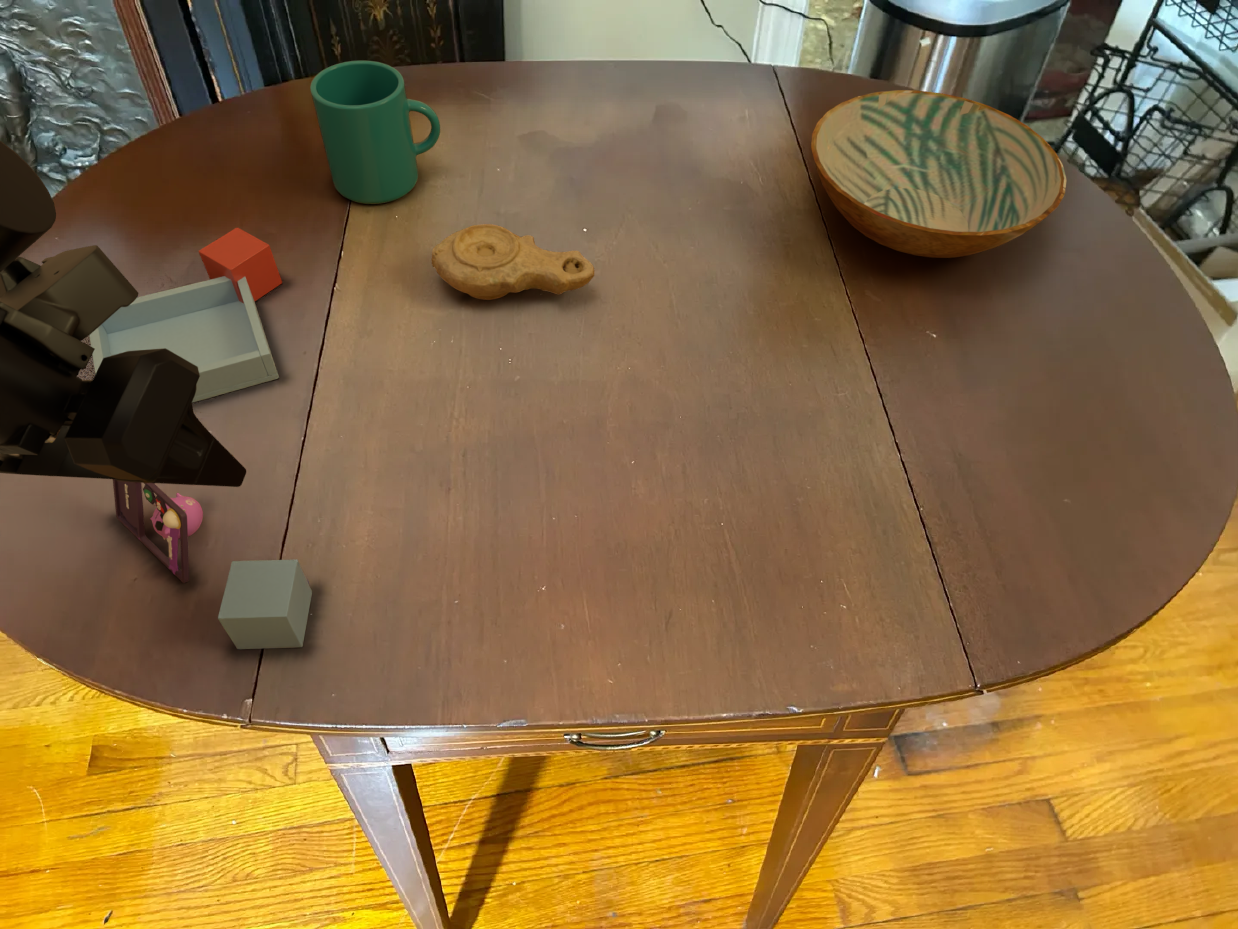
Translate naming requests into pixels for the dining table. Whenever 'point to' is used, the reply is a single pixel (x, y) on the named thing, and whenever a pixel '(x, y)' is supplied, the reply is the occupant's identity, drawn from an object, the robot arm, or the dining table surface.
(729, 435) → the dining table surface
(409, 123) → the cup
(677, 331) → the dining table surface
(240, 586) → the gray block
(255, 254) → the red block
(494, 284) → the oil lamp
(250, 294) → the gray tray
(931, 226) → the bowl
